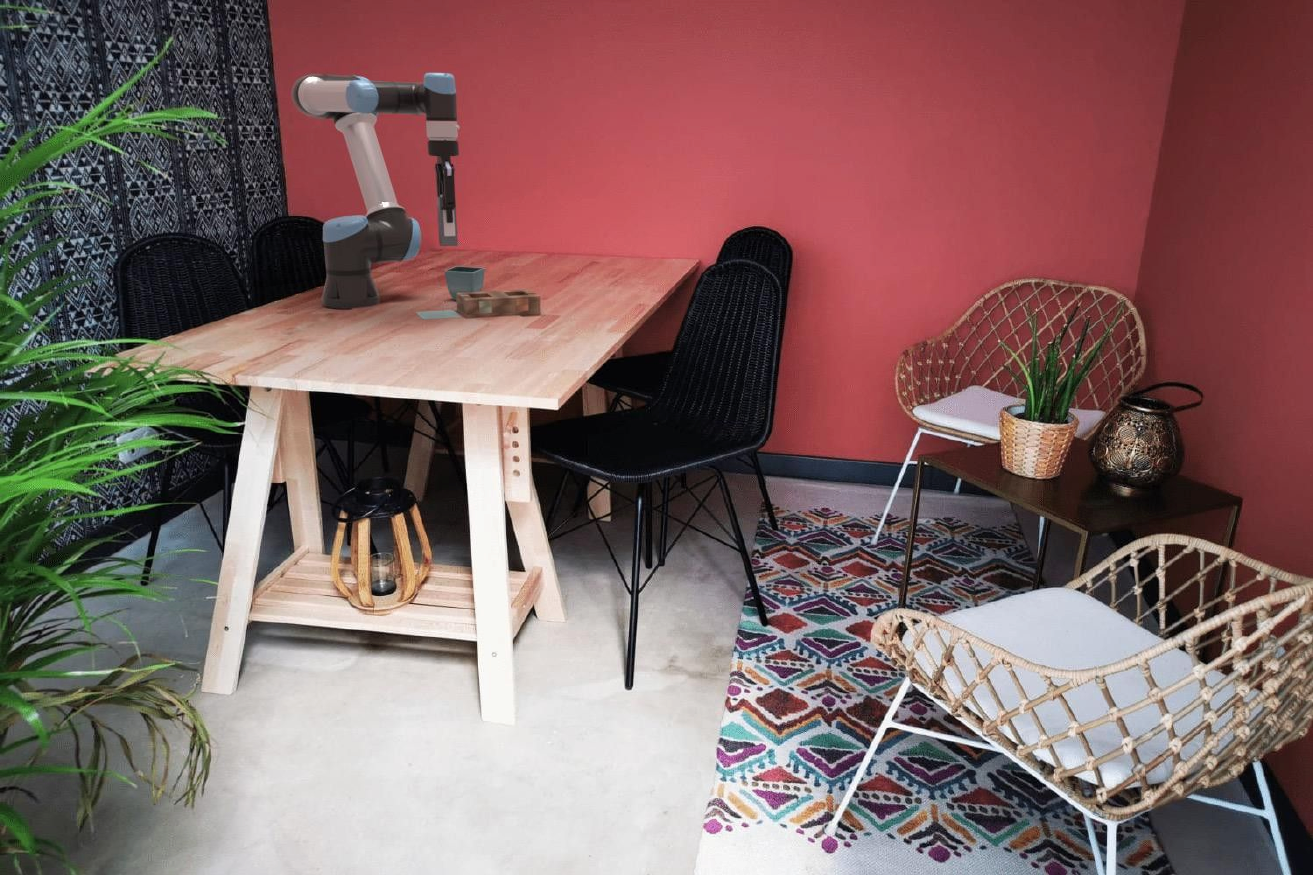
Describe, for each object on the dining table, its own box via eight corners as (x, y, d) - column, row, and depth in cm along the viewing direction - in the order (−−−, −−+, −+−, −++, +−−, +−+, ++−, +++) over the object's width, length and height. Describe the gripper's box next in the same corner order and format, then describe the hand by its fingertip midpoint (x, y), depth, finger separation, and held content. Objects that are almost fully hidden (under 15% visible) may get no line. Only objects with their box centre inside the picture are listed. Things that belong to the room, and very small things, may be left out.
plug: (442, 246, 240) (439, 195, 236) (439, 244, 243) (436, 194, 239) (457, 245, 241) (455, 195, 237) (454, 244, 244) (452, 194, 241)
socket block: (466, 319, 244) (466, 299, 242) (456, 311, 254) (456, 292, 252) (540, 314, 252) (540, 295, 250) (528, 307, 262) (528, 288, 260)
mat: (422, 321, 241) (422, 319, 241) (415, 313, 250) (415, 312, 249) (461, 318, 245) (461, 317, 245) (452, 311, 254) (452, 309, 253)
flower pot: (474, 304, 264) (473, 272, 261) (445, 302, 265) (443, 270, 262) (486, 298, 272) (485, 267, 269) (457, 297, 273) (456, 266, 270)
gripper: (464, 140, 228) (469, 238, 235) (451, 139, 243) (456, 231, 250) (433, 140, 225) (439, 239, 232) (422, 138, 240) (427, 232, 247)
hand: (448, 234), depth 241 cm, fingers closed on plug, 4 cm apart
